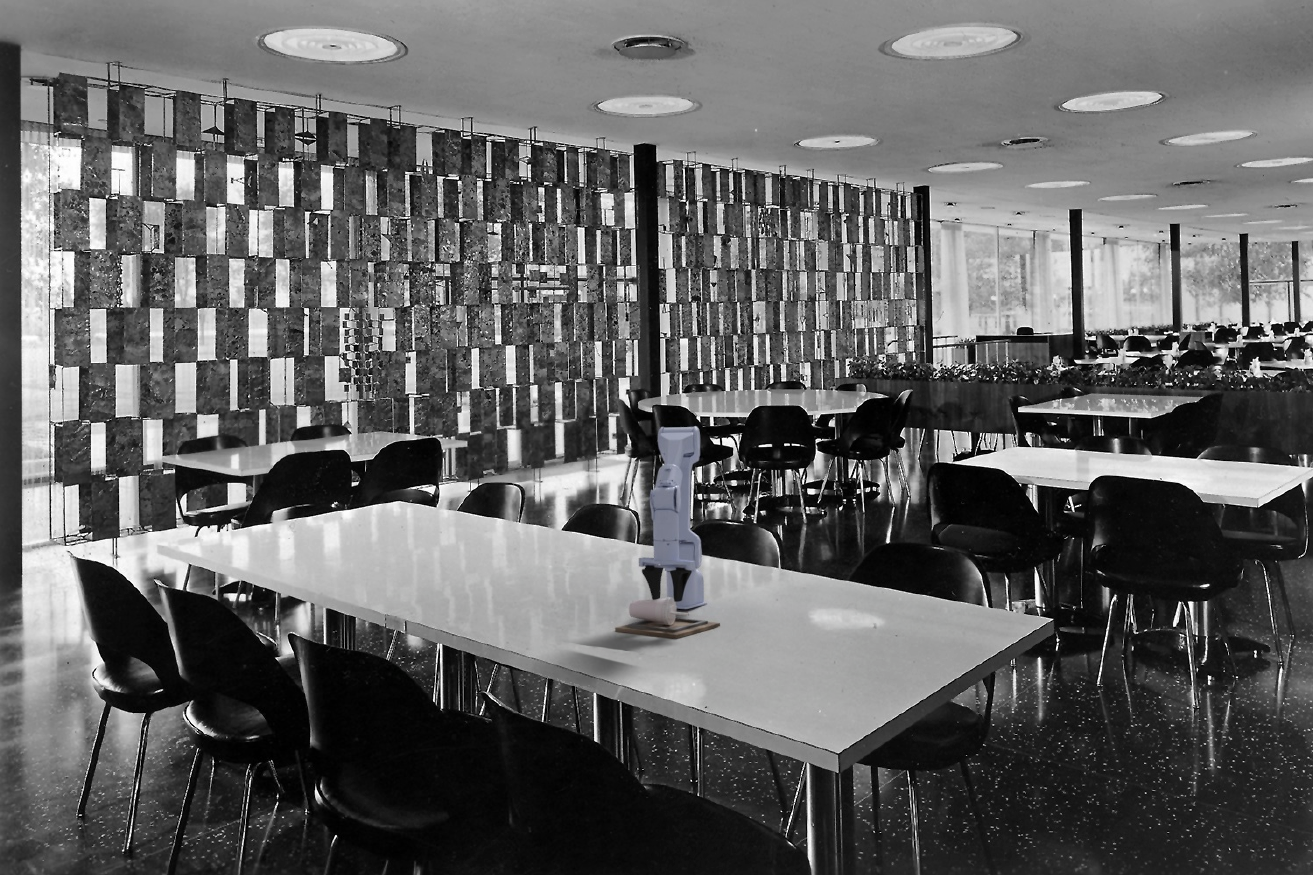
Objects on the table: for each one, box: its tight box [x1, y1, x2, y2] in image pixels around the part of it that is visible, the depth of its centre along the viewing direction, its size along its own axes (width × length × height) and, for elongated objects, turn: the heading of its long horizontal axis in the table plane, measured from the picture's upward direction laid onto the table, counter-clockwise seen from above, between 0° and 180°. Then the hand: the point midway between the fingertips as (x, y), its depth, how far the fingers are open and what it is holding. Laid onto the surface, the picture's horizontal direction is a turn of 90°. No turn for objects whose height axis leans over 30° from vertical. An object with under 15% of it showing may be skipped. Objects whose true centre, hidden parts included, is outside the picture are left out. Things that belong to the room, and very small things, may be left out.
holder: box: [614, 617, 721, 639], centre depth 238 cm, size 17×17×1 cm
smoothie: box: [628, 596, 690, 626], centre depth 239 cm, size 6×6×14 cm
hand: (667, 600), depth 238 cm, fingers open, 6 cm apart
